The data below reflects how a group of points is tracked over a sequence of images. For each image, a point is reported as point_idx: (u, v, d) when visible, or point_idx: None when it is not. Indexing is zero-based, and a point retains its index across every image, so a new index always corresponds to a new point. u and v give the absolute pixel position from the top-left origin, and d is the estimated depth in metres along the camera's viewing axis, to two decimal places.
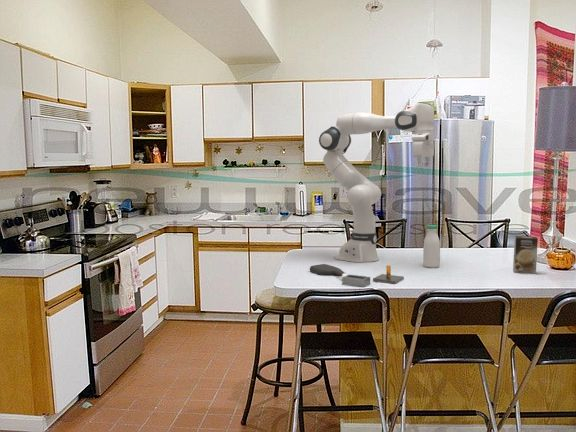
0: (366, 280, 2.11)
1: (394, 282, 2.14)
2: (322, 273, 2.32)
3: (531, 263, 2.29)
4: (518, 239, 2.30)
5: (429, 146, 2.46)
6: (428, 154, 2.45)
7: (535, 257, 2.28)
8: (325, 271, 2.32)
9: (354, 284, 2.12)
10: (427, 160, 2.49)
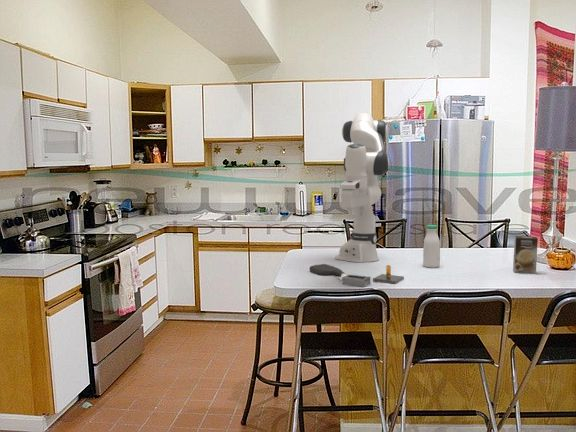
0: (366, 280, 2.11)
1: (394, 282, 2.14)
2: (321, 273, 2.32)
3: (531, 263, 2.29)
4: (518, 239, 2.30)
5: (363, 193, 2.13)
6: (361, 203, 2.12)
7: (535, 257, 2.28)
8: (324, 271, 2.32)
9: (354, 284, 2.12)
10: (362, 209, 2.16)
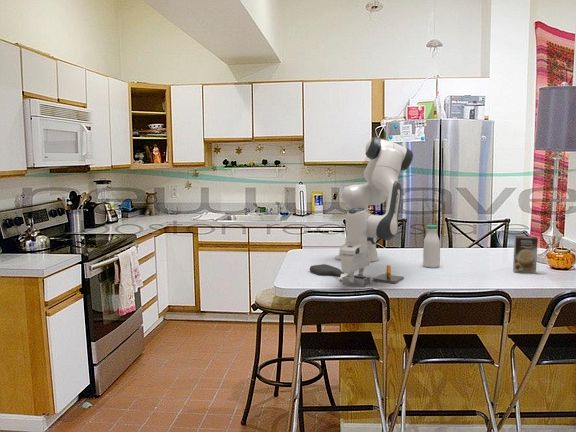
0: (366, 280, 2.11)
1: (394, 282, 2.14)
2: (321, 273, 2.32)
3: (531, 263, 2.29)
4: (518, 239, 2.30)
5: (363, 256, 2.16)
6: (361, 266, 2.14)
7: (535, 257, 2.28)
8: (324, 271, 2.31)
9: (354, 284, 2.12)
10: (361, 271, 2.18)
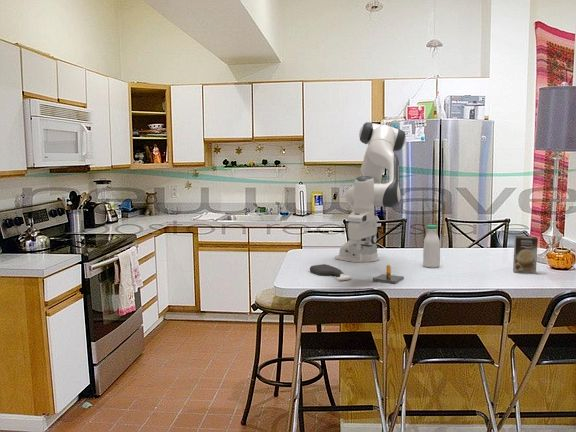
0: (373, 248, 2.12)
1: (394, 282, 2.14)
2: (321, 273, 2.32)
3: (531, 263, 2.29)
4: (518, 239, 2.30)
5: (370, 225, 2.17)
6: (368, 234, 2.15)
7: (535, 257, 2.28)
8: (324, 271, 2.31)
9: (361, 252, 2.13)
10: (368, 240, 2.19)
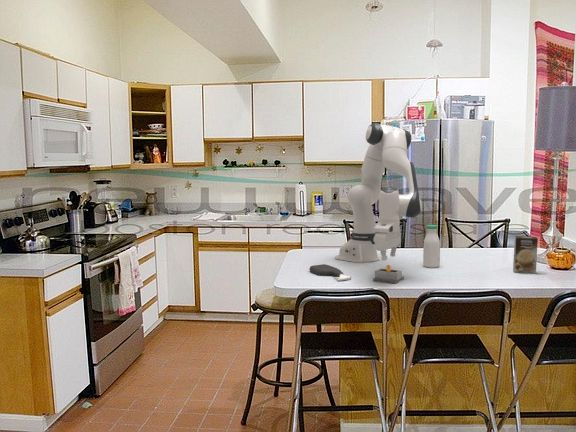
0: (398, 273, 2.17)
1: (394, 282, 2.14)
2: (320, 273, 2.31)
3: (531, 263, 2.29)
4: (518, 239, 2.30)
5: (395, 235, 2.21)
6: (393, 244, 2.20)
7: (535, 257, 2.28)
8: (323, 271, 2.31)
9: (387, 277, 2.18)
10: (393, 249, 2.24)
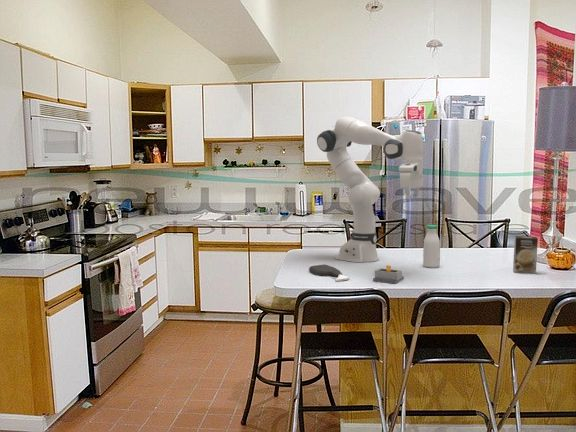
0: (398, 273, 2.17)
1: (394, 282, 2.14)
2: (319, 273, 2.31)
3: (531, 263, 2.29)
4: (518, 239, 2.30)
5: (418, 176, 2.31)
6: (417, 185, 2.29)
7: (535, 257, 2.28)
8: (322, 272, 2.31)
9: (387, 277, 2.18)
10: (416, 191, 2.34)
